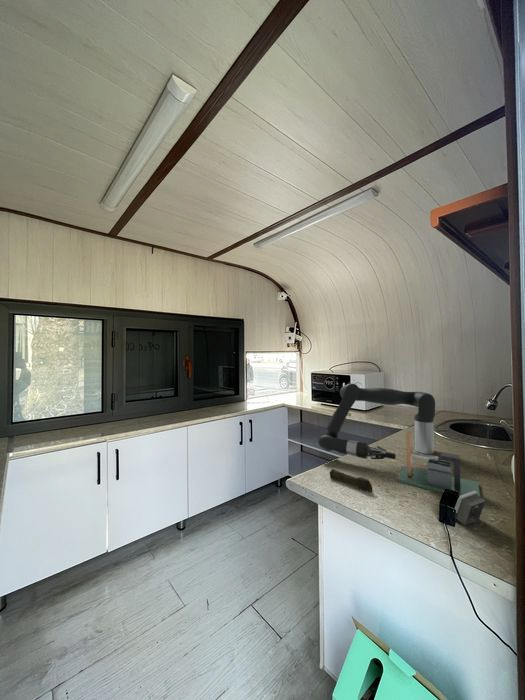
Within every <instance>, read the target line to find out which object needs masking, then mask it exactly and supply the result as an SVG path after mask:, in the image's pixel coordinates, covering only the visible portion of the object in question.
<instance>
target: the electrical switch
mask: <svg viewBox="0 0 525 700" xmlns="http://www.w3.org/2000/svg"><path fill="white" fill-rule="evenodd" d="M477 494H478V492H476V491H472V492H469V493H467V494H464V495H461V496H459V497H458V498H457V499H456V500H457V501H456V503H455V506H454V509H455V510H456V513H457V517H456V519H457V520H456V521H458V522H459V523H461V524H462V525H464V526H468V525H469V524H472V523H473V522H476V521H478V520H480V518H481V515H482V513H483V509H484V506H485V503H486V499H484V498H482V497H481V495H480V496H478V495H477Z"/></svg>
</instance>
